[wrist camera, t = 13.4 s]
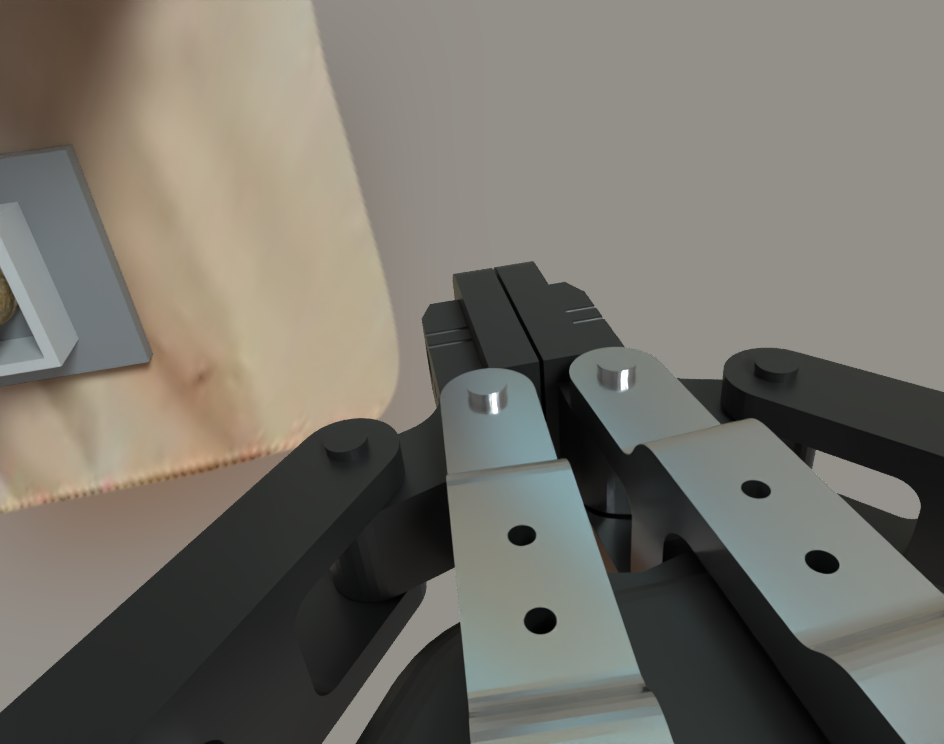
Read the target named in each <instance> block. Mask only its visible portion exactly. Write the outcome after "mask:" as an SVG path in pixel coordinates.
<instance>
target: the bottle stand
mask: <svg viewBox="0 0 944 744" xmlns="http://www.w3.org/2000/svg"><path fill="white" fill-rule="evenodd" d="M0 267H1V269H2V271H3V273H4V275H5V277H6V280H7V282H8V284H9V286H10V288H11V290H12V292H13V294H14V296H15V298H16V300H17V302H18V304H19V305H18V307H17V310H16V312H15V314H14V315H13V316H12V317H11V318H10V319H9V320H8V321H7V322H5V323H4V324H2V325H1V326H0V387H1V386H7V385H13V384H19V383H25V382H31V381H37V380H43V379H49V378H55V377H61V376H67V375H73V374H79V373H85V372H91V371H98V370H104V369H110V368H116V367H122V366H128V365H134V364H140V363H146V362H149V361H150V359H151V356H152V354H153V353H152V350H151V348H150V345H149V342H148V340H147V337H146V335H145V332H144V329H143V327H142V324H141V322H140V319H139V317H138V314H137V311H136V309H135V306H134V304H133V301H132V299H131V296H130V293H129V291H128V288H127V286H126V283H125V280H124V278H123V275H122V273H121V270H120V268H119V265H118V262H117V260H116V257H115V255H114V252H113V250H112V247H111V244H110V242H109V239H108V237H107V234H106V231H105V229H104V226H103V224H102V221H101V219H100V216H99V213H98V211H97V208H96V206H95V203H94V201H93V198H92V195H91V193H90V190H89V188H88V185H87V182H86V180H85V177H84V175H83V172H82V170H81V167H80V164H79V162H78V159H77V157H76V154H75V152H74V149H73V146H72V145H67V146H59V147H52V148H45V149H38V150H30V151H23V152H16V153H8V154H1V155H0Z"/></svg>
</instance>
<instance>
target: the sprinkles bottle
mask: <svg viewBox="0 0 944 744" xmlns="http://www.w3.org/2000/svg"><path fill="white" fill-rule="evenodd" d="M18 305H19V304H18V302H17V300H16V298H15V296H14V294H13V292H12V290H11V288H10V286H9V284H8V282H7V280H6V277H5V275H4V273H3V271H2V269H1V267H0V326H1V325H2V324H4V323H5V322H7V321H8V320H9V319H10V318H11V317H12V316H13V315H14V314H15V312H16V310H17V307H18Z"/></svg>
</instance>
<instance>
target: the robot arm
mask: <svg viewBox="0 0 944 744" xmlns="http://www.w3.org/2000/svg"><path fill="white" fill-rule="evenodd" d="M453 288H454V296H455V300H453V301H447V302H441V303H435V304H430V305H429V307H428V309H427V310H426V312H425V314H424V316H423V318H422V324H423V330H424V337H425V344H426V350H427V357H428V364H429V370H430V377H431V384H432V390H433V394H434V398H435V403H436V407H437V408H436V410H435V411H434V413H433V414H432V415H431V416H430V417H429V418H428V419H426V420H425V421H424V422H422V423H421V424H419V425H417V426H416V427H414V428H412V429H409V430H407V431H405V432H402V433H400V434H397V432H396V431H395V430H394V429H393V428H392V427H391V426H389V425H388V424H386V423H384V422H381V421H378V420H374V419H366V418H357V419H348V420H343V421H339V422H335V423H332V424H330V425H327V426H325V427H323V428H321V429H319V430H318V431H316V432H314V433H313V434H312V435H310V436H309V437H308V438H307V439H306V440H304V441H303V442H302V443H301V444H300V445H299V446H298V447H297V448H295V449H294V450H293V451H292V452H291V453H290V454H289V455H288V456H287V457H285V458H284V459H283V460H282V461H281V462H280V463H279V464H278V465H277V466H275V467H274V468H273V469H272V470H271V471H270V472H269V473H268V474H266V475H265V476H264V477H263V478H262V479H261V480H260V481H259V482H258V483H256V484H255V485H254V486H253V487H252V488H251V489H250V490H249V491H247V492H246V493H245V494H244V495H243V496H242V497H241V498H240V499H239V500H237V502H235V503H234V504H233V505H232V506H231V507H230V508H228V509H227V510H226V511H225V512H224V513H223V514H222V515H221V516H220V517H218V518H217V519H216V520H215V521H214V522H213V523H212V524H211V525H210V526H208V527H207V528H206V529H205V530H204V531H203V532H202V533H201V534H199V535H198V536H197V537H196V538H195V539H194V540H193V541H192V542H190V543H189V544H188V545H187V546H186V547H185V548H184V549H183V550H182V551H181V552H179V553H178V554H177V555H176V556H175V557H174V558H173V559H172V560H170V561H169V562H168V563H167V564H166V565H165V566H164V567H163V568H161V569H160V570H159V571H158V572H157V573H156V574H155V575H154V576H153V577H151V578H150V579H149V580H148V581H147V582H146V583H145V584H144V585H142V586H141V587H140V588H139V589H138V590H137V591H136V592H135V593H134V594H132V595H131V596H130V597H129V598H128V599H127V600H126V601H125V602H124V603H122V604H121V605H120V606H119V607H118V608H117V609H116V610H115V611H114V612H112V613H111V614H110V615H109V616H108V617H107V618H106V619H104V620H103V621H102V622H101V623H100V624H99V625H98V626H97V627H96V628H94V629H93V630H92V631H91V632H90V633H89V634H88V635H87V636H86V637H84V638H83V639H82V640H81V641H80V642H79V643H78V644H77V645H75V646H74V647H73V648H72V649H71V650H70V651H69V652H68V653H66V654H65V655H64V656H63V657H62V658H61V659H60V660H59V661H58V662H56V663H55V664H54V665H53V666H52V667H51V668H50V669H49V670H47V671H46V672H45V673H44V674H43V675H42V676H41V677H40V678H39V679H37V680H36V681H35V682H34V683H33V684H32V685H31V686H30V687H29V688H27V689H26V690H25V691H24V692H23V693H22V694H21V695H20V696H18V697H17V698H16V699H15V700H14V701H13V702H12V703H11V704H10V705H8V706H7V707H6V708H5V709H4V710H3V711H2V712H1V713H0V744H322V742H323V741H324V739H325V738H326V737H327V735H328V734H329V732H330V731H331V730H332V728H333V727H334V725H335V724H336V723H337V721H338V720H339V718H340V717H341V716H342V714H343V713H344V711H345V710H346V708H347V707H348V705H349V704H350V703H351V701H352V700H353V698H354V697H355V696H356V694H357V693H358V692H359V690H360V688H361V687H362V686H363V684H364V683H365V682H366V680H367V679H368V677H369V676H370V675H371V673H372V672H373V670H374V669H375V668H376V666H377V665H378V663H379V662H380V660H381V659H382V658H383V656H384V655H385V653H386V652H387V650H388V649H389V648H390V646H391V645H392V644H393V642H394V641H395V639H396V638H397V636H398V635H399V633H400V632H401V631H402V629H403V628H404V626H405V625H406V624H407V622H408V621H409V619H410V618H411V617H412V615H413V614H414V612H415V611H416V610H417V608H418V607H419V605H420V604H421V602H422V600H423V598H424V596H425V593H426V581H428V580H430V579H432V578H434V577H436V576H438V575H440V574H442V573H444V572H446V571H448V570H450V569H452V568H454V567H455V572H456V582H457V593H458V603H459V612H460V622H459V623H458V624H456V625H454V626H452V627H451V628H449V629H447V630H446V631H444V632H443V633H442V634H440V635H439V636H438V637H436V638H435V639H434V640H432V641H431V642H430V643H428V644H427V645H426V646H425V647H424V648H423V649H422V650H421V651H420V652H419V653H418V654H417V655H416V656H415V657H414V658H413V659H412V660H411V662H410V663H409V664H408V665H407V666H406V668H405V669H404V670H403V671H402V672H401V674H400V675H399V676H398V677H397V679H396V681H395V682H394V683H393V685H392V686H391V688H390V689H389V691H388V693H387V694H386V696H385V697H384V699H383V701H382V702H381V704H380V706H379V707H378V709H377V710H376V712H375V713H374V715H373V717H372V718H371V720H370V721H369V723H368V725H367V726H366V728H365V730H364V731H363V733H362V734H361V736H360V738H359V739H358V741H357V743H356V744H944V392H941V391H937V390H934V389H930V388H926V387H922V386H919V385H915V384H912V383H908V382H904V381H901V380H897V379H893V378H890V377H886V376H882V375H878V374H875V373H872V372H868V371H864V370H861V369H857V368H853V367H849V366H846V365H842V364H839V363H835V362H831V361H828V360H824V359H820V358H816V357H813V356H809V355H806V354H802V353H798V352H794V351H790V350H786V349H779V348H756V349H749V350H745V351H742V352H739V353H737V354H735V355H733V356H732V357H730V358H729V359H728V360H727V361H726V363H725V365H724V370H723V380H714V379H713V380H712V379H680V378H676V377H675V376H674V375H673V374H672V373H671V372H670V371H669V370H668V369H667V368H666V367H665V366H664V365H663V364H662V363H661V362H660V361H659V360H658V359H657V358H656V357H654V356H653V355H651V354H649V353H647V352H644V351H641V350H638V349H633V348H627V347H624V345H623V344H622V342H621V341H620V340H619V338H618V337H617V336H616V334H615V333H614V332H613V330H612V329H611V327H610V326H609V325H608V323H607V322H606V321H605V319H602V315H601V314H600V312H599V311H598V310H597V309H596V308H595V307H594V304H593V303H592V302H591V300H590V299H589V297H588V296H587V295H586V293H585V292H584V291H582V290H580V289H578V288H576V287H574V286H572V285H570V284H568V283H566V282H562V283H556V284H550V285H548V283H547V282H546V280H545V278H544V277H543V275H542V273H541V272H540V270H539V269H538V267H537V266H536V264H535V263H534V262H533V261H532V262H525V263H519V264H513V265H506V266H501V267H495V268H494V270H493V269H492V268H489V269H482V270H476V271H470V272H463V273H457V274H453ZM816 450H819V451H822V452H824V453H827V454H830V455H833V456H836V457H839V458H842V459H844V460H847V461H850V462H854V463H856V464H859V465H862V466H865V467H868V468H870V469H873V470H876V471H879V472H882V473H884V474H887V475H890V476H893V477H896V478H898V479H900V480H902V481H904V482H905V483H907V484H908V485H909V486H910V487H911V488H912V489H913V490H914V491H915V492H916V493H917V495H918V497H919V499H920V502H921V510H920V514H919V516H918V519H906V518H901V517H898V516H896V515H893V514H891V513H888V512H885V511H883V510H880V509H877V508H875V507H872V506H869V505H867V504H864V503H861V502H859V501H856V500H854V499H851V498H848V497H846V496H843V495H840V494H838V493H836V492H835V491H834V490H833V489H832V488H831V487H829V486H828V485H827V484H826V483H825V482H824V481H823V480H822V479H821V478H820V477H819V476H818V475H817V474H816V473H815V472H814V471H813V470H812V466H813V461H814V456H815V451H816Z"/></svg>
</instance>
